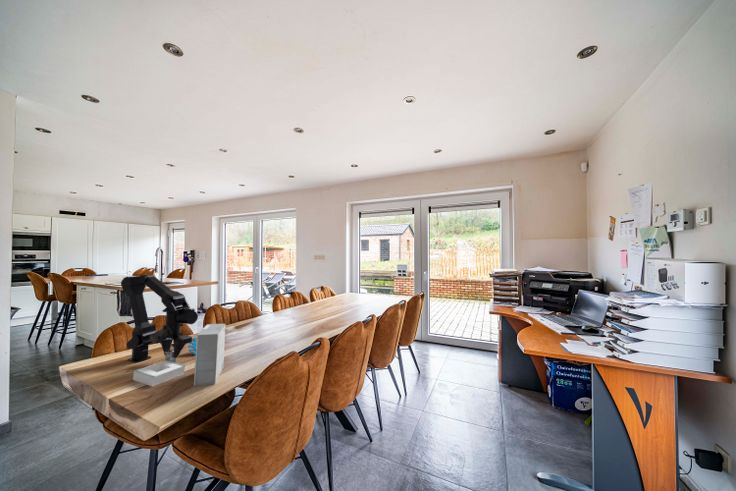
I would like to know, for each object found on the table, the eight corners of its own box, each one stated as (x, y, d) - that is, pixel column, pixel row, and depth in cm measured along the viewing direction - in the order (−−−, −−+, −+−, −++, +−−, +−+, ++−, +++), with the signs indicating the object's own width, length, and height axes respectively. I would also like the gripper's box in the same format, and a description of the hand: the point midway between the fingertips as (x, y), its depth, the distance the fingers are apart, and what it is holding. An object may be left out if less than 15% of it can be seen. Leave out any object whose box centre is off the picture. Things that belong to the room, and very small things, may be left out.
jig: (133, 379, 105) (133, 370, 106) (165, 368, 117) (166, 359, 117) (152, 386, 101) (153, 376, 101) (184, 374, 112) (184, 365, 112)
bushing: (161, 364, 120) (162, 351, 120) (172, 361, 124) (173, 348, 125) (168, 366, 118) (169, 353, 119) (179, 363, 123) (179, 349, 123)
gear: (188, 354, 129) (188, 335, 135) (184, 360, 131) (185, 342, 137) (213, 352, 136) (212, 335, 142) (209, 358, 139) (208, 341, 145)
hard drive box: (204, 369, 117) (207, 323, 118) (223, 368, 120) (226, 323, 120) (192, 386, 103) (196, 334, 103) (215, 384, 105) (218, 333, 106)
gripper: (140, 323, 118) (137, 359, 117) (168, 329, 111) (165, 367, 111) (167, 318, 128) (164, 350, 128) (194, 323, 122) (191, 358, 121)
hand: (170, 356), depth 122 cm, fingers open, 6 cm apart
